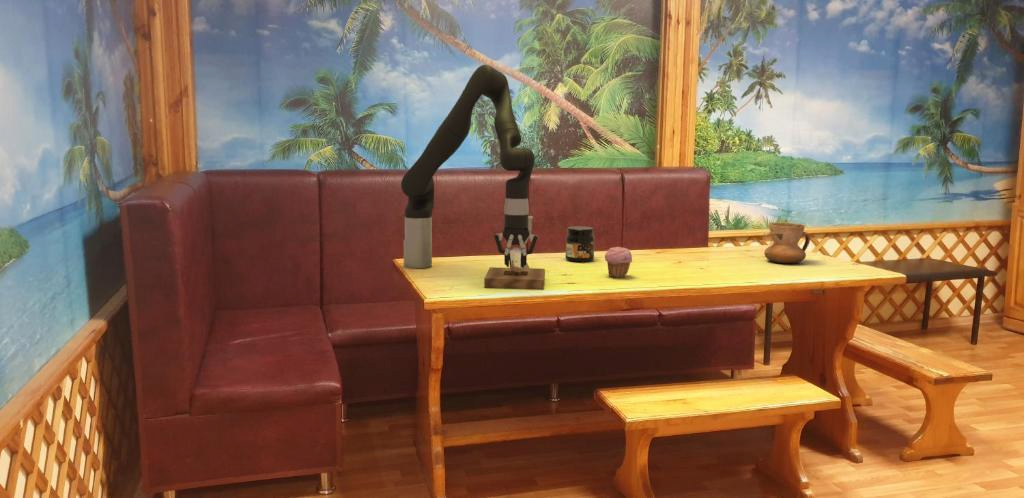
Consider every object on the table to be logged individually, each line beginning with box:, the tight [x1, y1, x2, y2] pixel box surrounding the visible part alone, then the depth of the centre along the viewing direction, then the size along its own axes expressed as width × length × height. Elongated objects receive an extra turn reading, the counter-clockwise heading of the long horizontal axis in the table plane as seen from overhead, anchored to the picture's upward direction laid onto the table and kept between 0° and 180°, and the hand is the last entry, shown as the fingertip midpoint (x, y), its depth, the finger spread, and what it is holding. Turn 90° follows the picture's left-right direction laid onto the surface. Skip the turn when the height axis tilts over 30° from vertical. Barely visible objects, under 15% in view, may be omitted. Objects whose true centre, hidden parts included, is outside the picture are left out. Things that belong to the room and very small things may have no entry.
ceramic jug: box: [763, 221, 811, 265], centre depth 293 cm, size 18×14×14 cm
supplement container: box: [565, 225, 596, 263], centre depth 291 cm, size 10×10×12 cm
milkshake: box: [509, 247, 523, 276], centre depth 250 cm, size 4×5×10 cm
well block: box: [483, 266, 546, 290], centre depth 251 cm, size 18×18×3 cm
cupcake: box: [604, 246, 633, 279], centre depth 262 cm, size 9×9×10 cm
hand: (515, 266), depth 250 cm, fingers closed on milkshake, 4 cm apart
